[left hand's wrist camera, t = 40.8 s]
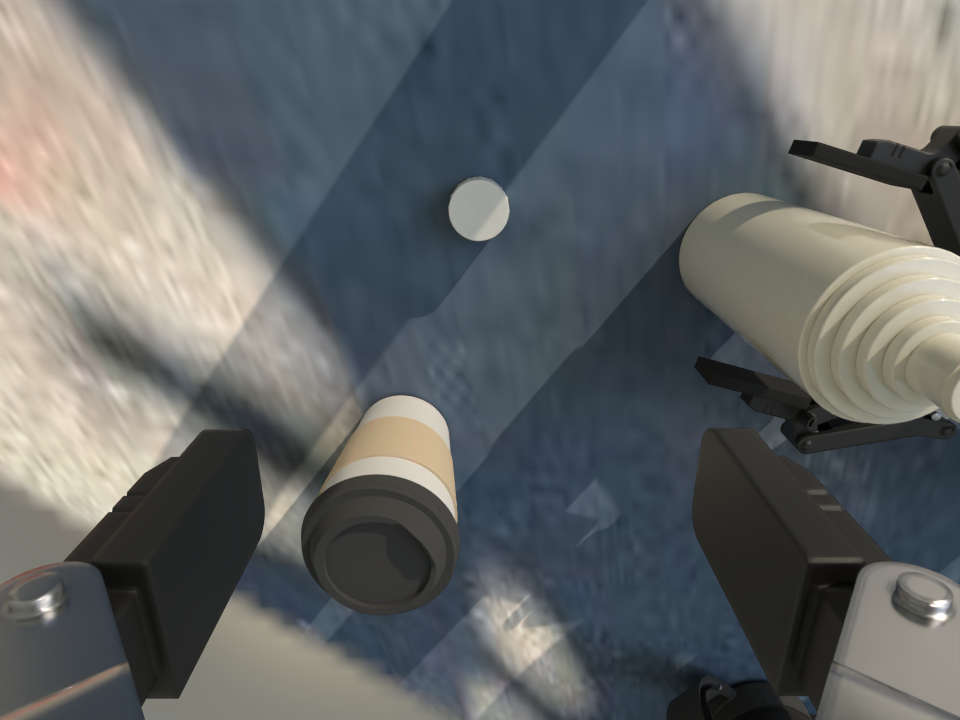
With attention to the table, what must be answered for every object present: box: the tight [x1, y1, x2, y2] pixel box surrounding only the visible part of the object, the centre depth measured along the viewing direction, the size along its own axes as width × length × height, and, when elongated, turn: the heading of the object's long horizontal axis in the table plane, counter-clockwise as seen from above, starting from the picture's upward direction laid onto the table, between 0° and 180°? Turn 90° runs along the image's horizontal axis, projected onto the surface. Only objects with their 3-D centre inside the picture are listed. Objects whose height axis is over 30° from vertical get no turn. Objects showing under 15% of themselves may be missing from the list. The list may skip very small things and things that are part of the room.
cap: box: [448, 176, 510, 241], centre depth 40 cm, size 4×4×2 cm
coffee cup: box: [301, 395, 460, 615], centre depth 40 cm, size 9×9×15 cm
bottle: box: [679, 193, 960, 424], centre depth 32 cm, size 8×8×22 cm
